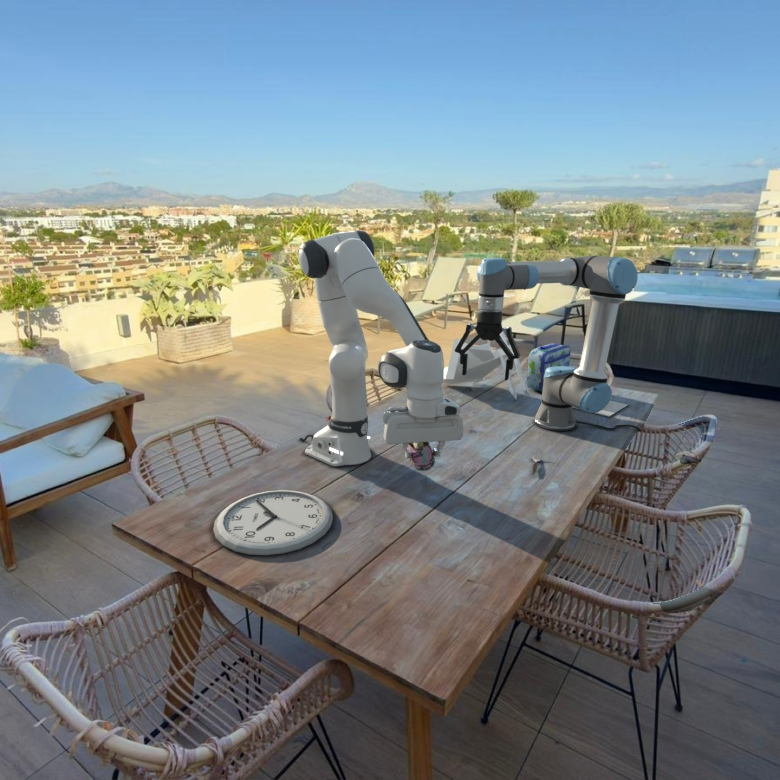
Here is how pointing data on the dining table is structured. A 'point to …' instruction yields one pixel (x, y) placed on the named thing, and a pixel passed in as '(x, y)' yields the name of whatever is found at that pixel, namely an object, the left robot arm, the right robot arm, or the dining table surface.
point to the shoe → (421, 455)
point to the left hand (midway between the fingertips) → (422, 456)
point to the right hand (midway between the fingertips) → (485, 376)
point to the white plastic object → (481, 365)
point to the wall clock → (273, 522)
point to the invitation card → (611, 408)
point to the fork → (536, 461)
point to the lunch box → (545, 363)
